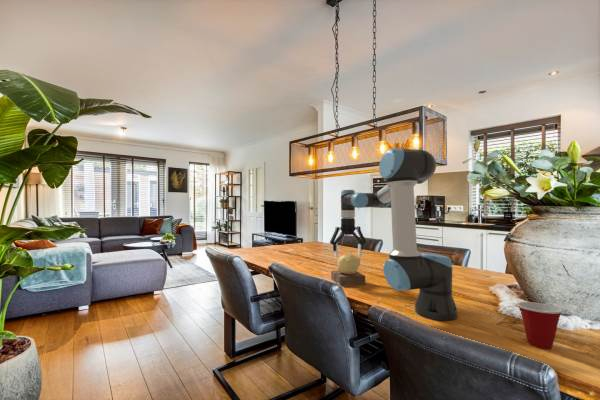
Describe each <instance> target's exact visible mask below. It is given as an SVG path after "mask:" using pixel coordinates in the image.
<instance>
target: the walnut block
mask: <svg viewBox="0 0 600 400" xmlns="http://www.w3.org/2000/svg"><path fill="white" fill-rule="evenodd" d="M330 276H331V277H330V278H331V280H332V281H333V282H334V283H336V284H337V283H339V284H340V285H341V286H340V287H347V286H362V285H366V275H364V274H363V273H361V272H359V271H358V270H357V272H356V273H355V274H350V275H348V274H344V273H341V272H340V271H339V270H331V275H330Z"/></svg>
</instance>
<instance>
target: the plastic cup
mask: <svg viewBox="0 0 600 400" xmlns="http://www.w3.org/2000/svg"><path fill="white" fill-rule="evenodd" d="M516 306H518V308H519V311H520V315H521V318H522V323H523V326H524V327H523V328H524V331H525V336H526V340H527V343H528V344H529V345H531V347H536V348H538V349H542V350H551V349H552V348H553V345H554V342H555V338H556V334H557V328H558V323H559V321H560V317H561V314H562V313H563V309H562V308H560V307H557V306H554V305H552V304H548V303H540V302H533V301H531V302H530V301H519V302H516Z"/></svg>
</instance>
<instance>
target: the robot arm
mask: <svg viewBox="0 0 600 400" xmlns="http://www.w3.org/2000/svg"><path fill="white" fill-rule="evenodd" d="M436 170H437V161H436V159H435V157H434V155H432V153H430V152H429V151H427V150H425V149H410V148H401V147H399V148H390V149H388V150H387V151H385V152H384V153H383V155H382V157H381V158H380V161H379V167H378V172H379V175H380V177H381V178H383V179H385V184H386V185H384V186H383V187H382V188H380V189H379V190H378V191H376V192H355V190H354V189H342V190H341V191H340V217H341V219H340V226H335V230H334V231H333V234H332V236H331V238H330V241H329V244H330V245H332V251H334V257H335V258H336V259H337V258H338V259H339V257H338V254H339V253H338V252H339V250H338V249H339V247H338V243H339V242H340V240H342V238H343V237H344V236H353V237H354V239H356V241H357V242H358V244H357V256H358V257H359V258H360V257H361V258H362V251H363V248H364V246H363V245H364V244H366V243H367V241H366V238H365V236H364V235H363V232H362V230H361V226H358V225H357V226H356V220H355V219H356V218H355V217H356V208H357V209H362V208H388V207H390V210H391V231H392V232H391V233H392V250H391V251H390V252H389V254H388V256H389V257H388V259H386V260H385V261H384V263H383V266H382V267H383V268H382V269H383V275H384V278H385V281H386V282H387V284H388V285H389V287H390V288H392V289H393V290H395V291H399V292H400V291H402V292H403V291H405V292H407V291H411V290H412V291H414V290H419V291H418V294H417V298H416V300H415V303H414V312H415V313H416V314H418V315H420V316H422V317H424V318H428V319H429V320H435V321H452V320H456V319H457V318H458V308H457V306H456V305H457V304H456V303H455V300H454V296H453V264H452V263H453V261H452V259H451V257H449V256H447V255H446V256H445V255H442V254H437V253H431V252H420V251H419V250H418V249H417V248H418V246H417V229H416V227H417V226H416V210H415V209H416V205H415V189H414V187H415V186H416V185H421V184H423V183H425V182H426V181H428V180H429V179H430V178H432V176H433V175H434V174H435V172H436ZM355 231H356V232H357V233H358V234H357V233H356V232H355ZM339 232H340V233H339ZM338 234H339V235H338Z"/></svg>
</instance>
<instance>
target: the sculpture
mask: <svg viewBox="0 0 600 400" xmlns="http://www.w3.org/2000/svg"><path fill="white" fill-rule="evenodd" d="M336 266H337V267H336V268H337V271H340V272H341V273H344V274H348V275H350V274H355V273H356V272H357V271H358V270H359V268H360V267H361V258H360V256H358V255H355V254H352V253H346V254H345V253H344V254H342V255H341V256H340V257H338V259H337V262H336Z"/></svg>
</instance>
